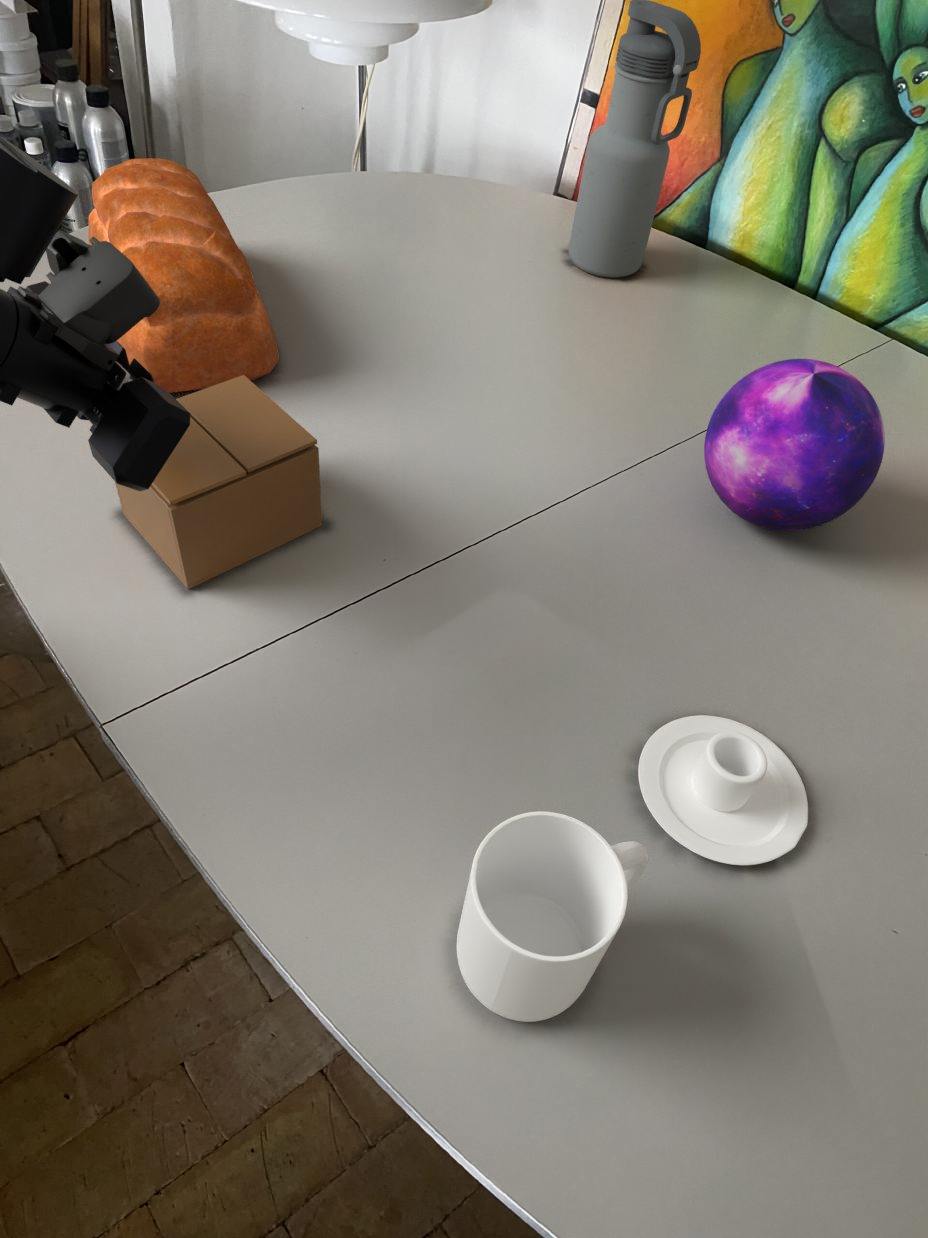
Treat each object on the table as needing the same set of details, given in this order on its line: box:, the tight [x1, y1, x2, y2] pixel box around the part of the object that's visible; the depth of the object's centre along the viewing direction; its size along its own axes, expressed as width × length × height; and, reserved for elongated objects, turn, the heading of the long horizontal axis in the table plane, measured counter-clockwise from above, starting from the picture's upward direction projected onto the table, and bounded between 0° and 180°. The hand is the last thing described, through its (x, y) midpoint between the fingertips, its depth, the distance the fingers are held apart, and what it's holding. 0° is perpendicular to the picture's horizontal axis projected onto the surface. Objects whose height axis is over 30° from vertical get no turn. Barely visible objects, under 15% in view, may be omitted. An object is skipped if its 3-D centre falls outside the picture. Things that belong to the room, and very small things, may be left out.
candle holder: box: [637, 714, 809, 866], centre depth 60 cm, size 12×12×4 cm
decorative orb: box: [703, 358, 886, 532], centre depth 78 cm, size 15×15×15 cm
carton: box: [114, 375, 323, 590], centre depth 72 cm, size 13×11×9 cm
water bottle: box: [568, 0, 702, 279], centre depth 103 cm, size 10×10×28 cm
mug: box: [456, 811, 649, 1023], centre depth 50 cm, size 12×8×10 cm
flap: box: [152, 417, 246, 505], centre depth 67 cm, size 6×11×1 cm, turn 41°
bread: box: [87, 157, 280, 394], centre depth 92 cm, size 16×31×13 cm, turn 24°
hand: (181, 422), depth 66 cm, fingers closed
